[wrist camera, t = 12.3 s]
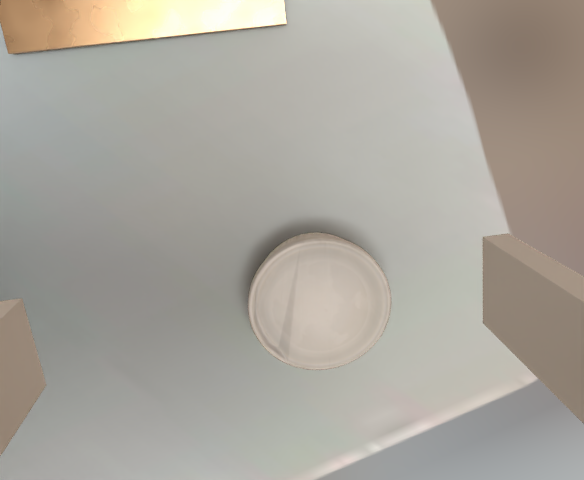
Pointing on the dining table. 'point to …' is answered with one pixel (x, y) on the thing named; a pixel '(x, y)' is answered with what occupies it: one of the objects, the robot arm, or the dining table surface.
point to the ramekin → (318, 302)
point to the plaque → (126, 20)
